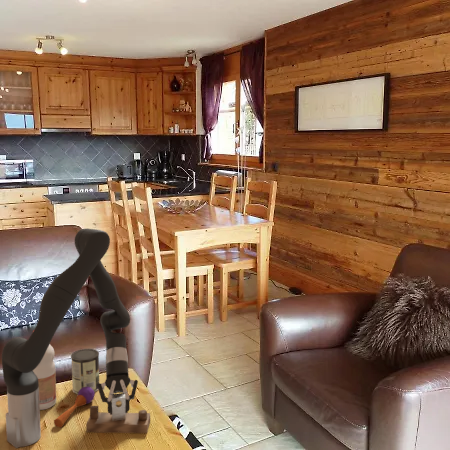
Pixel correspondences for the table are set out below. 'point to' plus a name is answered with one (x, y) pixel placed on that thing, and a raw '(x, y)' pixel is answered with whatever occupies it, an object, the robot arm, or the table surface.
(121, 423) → the plane body
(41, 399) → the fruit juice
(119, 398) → the lever cap
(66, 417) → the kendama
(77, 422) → the table surface
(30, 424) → the robot arm
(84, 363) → the coffee can
